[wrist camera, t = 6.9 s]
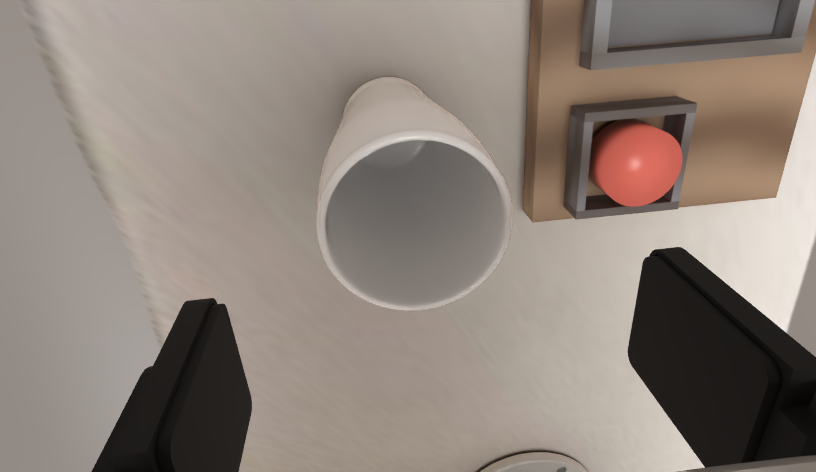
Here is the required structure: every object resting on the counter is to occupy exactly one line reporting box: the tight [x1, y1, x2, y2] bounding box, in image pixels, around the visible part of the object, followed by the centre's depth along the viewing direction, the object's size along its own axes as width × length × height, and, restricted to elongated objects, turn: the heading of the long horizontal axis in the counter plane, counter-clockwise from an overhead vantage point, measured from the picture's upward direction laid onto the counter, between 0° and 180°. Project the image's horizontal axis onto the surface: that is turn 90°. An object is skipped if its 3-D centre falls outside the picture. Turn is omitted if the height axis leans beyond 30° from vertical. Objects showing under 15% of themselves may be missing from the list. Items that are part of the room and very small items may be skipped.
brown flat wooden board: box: [523, 0, 816, 222], centre depth 28 cm, size 22×16×4 cm
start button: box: [588, 119, 682, 207], centre depth 29 cm, size 4×4×2 cm
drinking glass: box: [317, 77, 513, 311], centre depth 24 cm, size 7×7×15 cm
